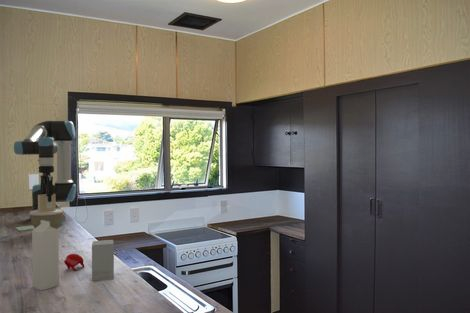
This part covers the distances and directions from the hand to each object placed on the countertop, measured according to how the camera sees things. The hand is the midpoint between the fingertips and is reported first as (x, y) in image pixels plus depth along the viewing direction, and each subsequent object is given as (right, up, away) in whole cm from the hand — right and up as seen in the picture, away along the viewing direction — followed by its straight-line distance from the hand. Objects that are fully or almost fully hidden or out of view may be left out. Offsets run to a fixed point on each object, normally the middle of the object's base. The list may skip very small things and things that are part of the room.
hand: (46, 206), depth 215 cm
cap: (+42, -16, -65) cm, 79 cm away
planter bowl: (0, -14, 0) cm, 14 cm away
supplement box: (+56, -16, -75) cm, 95 cm away
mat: (-17, -14, +11) cm, 24 cm away
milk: (+40, -16, -84) cm, 95 cm away
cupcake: (-4, -14, +21) cm, 26 cm away
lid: (0, -3, 0) cm, 3 cm away
